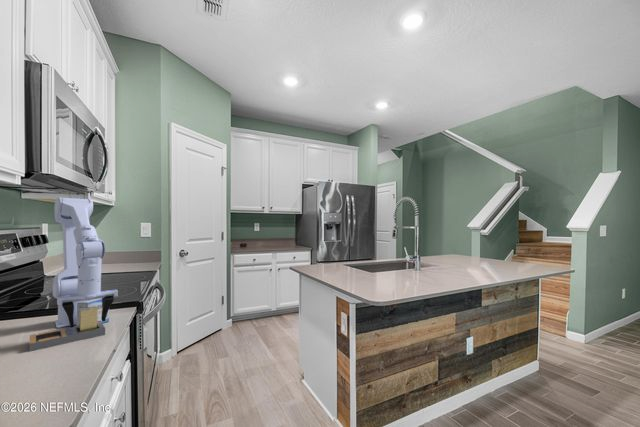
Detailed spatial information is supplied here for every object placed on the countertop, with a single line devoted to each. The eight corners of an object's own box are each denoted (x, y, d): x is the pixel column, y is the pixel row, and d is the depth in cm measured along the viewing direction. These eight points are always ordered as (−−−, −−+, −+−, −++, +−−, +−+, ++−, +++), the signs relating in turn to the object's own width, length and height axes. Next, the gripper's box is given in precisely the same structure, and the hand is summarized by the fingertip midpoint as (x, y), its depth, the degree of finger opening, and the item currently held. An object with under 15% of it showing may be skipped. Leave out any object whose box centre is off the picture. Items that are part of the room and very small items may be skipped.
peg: (78, 334, 88) (79, 308, 88) (94, 331, 90) (95, 306, 91) (79, 338, 85) (80, 311, 85) (96, 334, 88) (97, 308, 88)
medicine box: (86, 329, 92) (87, 302, 93) (75, 328, 93) (76, 302, 93) (109, 321, 100) (110, 296, 100) (99, 320, 101) (99, 296, 101)
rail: (29, 342, 81) (29, 335, 81) (100, 328, 93) (100, 321, 93) (29, 351, 76) (29, 343, 76) (105, 334, 88) (105, 327, 88)
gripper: (59, 284, 80) (57, 333, 80) (120, 278, 91) (118, 320, 90) (57, 281, 85) (55, 327, 85) (115, 275, 96) (114, 316, 95)
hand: (88, 323), depth 88 cm, fingers open, 7 cm apart
